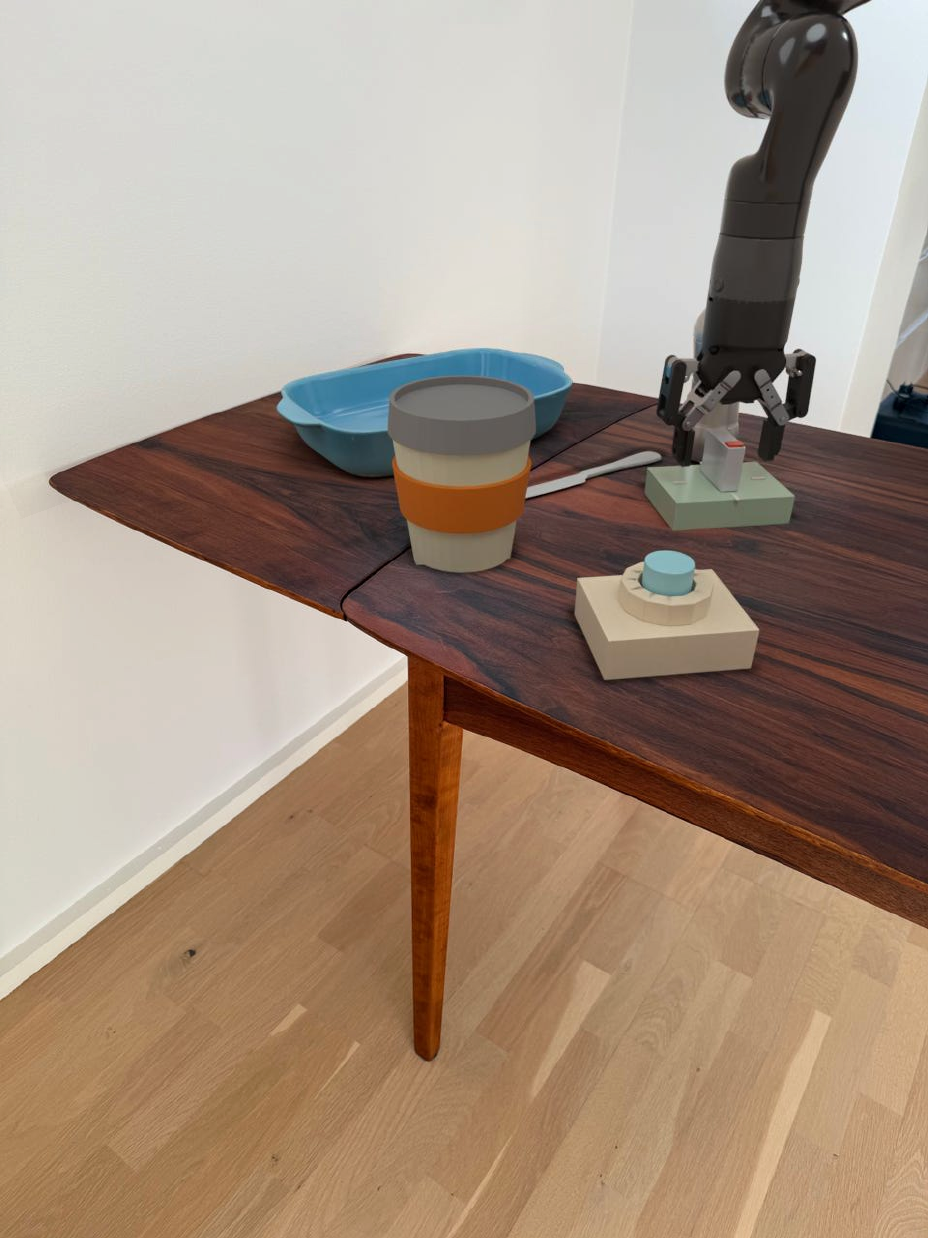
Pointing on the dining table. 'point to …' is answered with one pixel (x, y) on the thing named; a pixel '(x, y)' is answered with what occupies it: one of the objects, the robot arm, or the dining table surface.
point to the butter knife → (594, 473)
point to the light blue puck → (668, 573)
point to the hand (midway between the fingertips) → (723, 461)
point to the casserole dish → (359, 397)
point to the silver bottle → (719, 414)
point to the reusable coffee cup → (461, 467)
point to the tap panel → (717, 498)
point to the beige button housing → (663, 626)
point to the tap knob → (723, 459)
